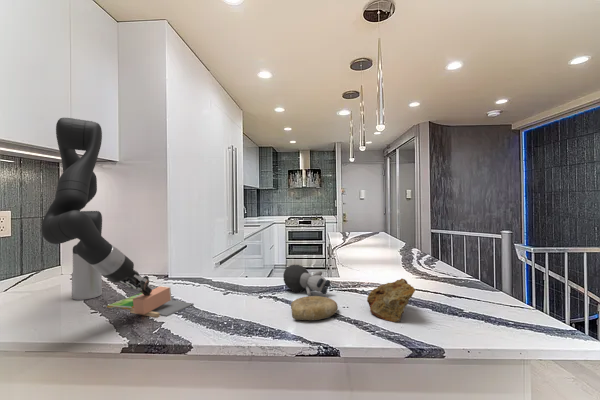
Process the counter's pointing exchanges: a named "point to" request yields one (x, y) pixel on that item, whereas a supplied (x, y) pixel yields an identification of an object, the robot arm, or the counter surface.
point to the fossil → (313, 308)
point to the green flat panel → (124, 303)
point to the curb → (152, 314)
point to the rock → (390, 300)
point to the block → (152, 300)
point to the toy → (304, 280)
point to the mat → (171, 307)
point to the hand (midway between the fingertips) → (148, 292)
